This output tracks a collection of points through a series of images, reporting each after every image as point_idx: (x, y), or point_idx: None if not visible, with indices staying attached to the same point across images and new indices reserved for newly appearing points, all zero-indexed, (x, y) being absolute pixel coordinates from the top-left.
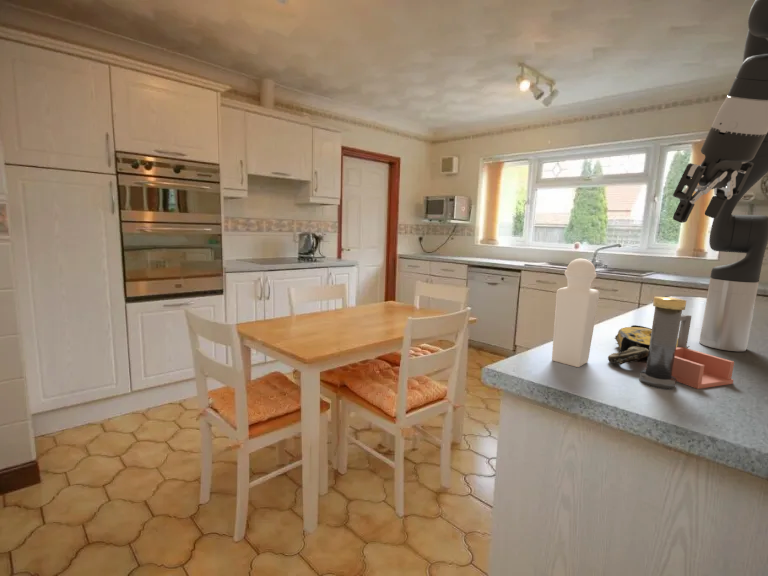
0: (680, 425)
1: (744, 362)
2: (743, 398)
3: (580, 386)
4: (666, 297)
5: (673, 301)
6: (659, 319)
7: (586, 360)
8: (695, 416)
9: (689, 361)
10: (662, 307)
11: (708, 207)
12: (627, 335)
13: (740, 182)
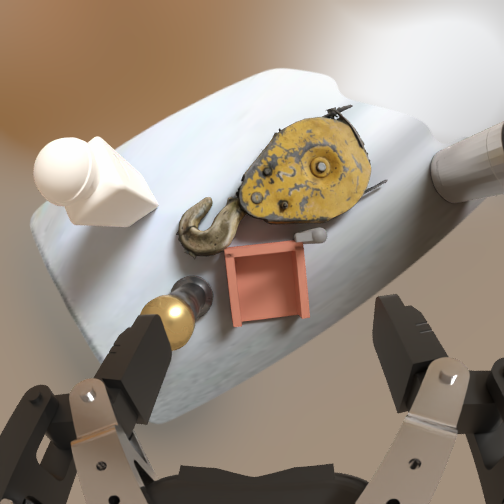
0: None
1: (415, 240)
2: (264, 352)
3: (88, 287)
4: (176, 307)
5: None
6: None
7: (150, 211)
8: None
9: (235, 308)
10: None
11: (389, 320)
12: (256, 171)
13: (481, 478)
